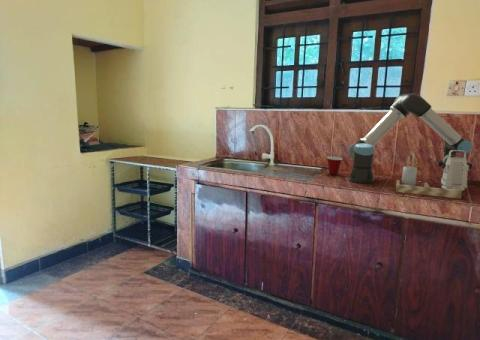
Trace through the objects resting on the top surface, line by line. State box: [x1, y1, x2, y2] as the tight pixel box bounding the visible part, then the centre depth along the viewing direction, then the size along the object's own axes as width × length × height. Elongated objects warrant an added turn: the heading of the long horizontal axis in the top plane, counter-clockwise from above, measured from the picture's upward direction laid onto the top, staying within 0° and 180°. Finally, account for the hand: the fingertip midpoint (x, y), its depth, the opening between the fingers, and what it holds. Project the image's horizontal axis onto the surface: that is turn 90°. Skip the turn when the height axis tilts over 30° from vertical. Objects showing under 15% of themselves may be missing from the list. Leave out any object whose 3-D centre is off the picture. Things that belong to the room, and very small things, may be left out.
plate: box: [441, 184, 466, 192], centre depth 176 cm, size 11×11×1 cm
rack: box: [395, 179, 463, 200], centre depth 168 cm, size 30×14×4 cm, turn 63°
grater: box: [440, 150, 468, 189], centre depth 174 cm, size 10×10×20 cm
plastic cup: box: [326, 155, 343, 175], centre depth 216 cm, size 11×11×12 cm
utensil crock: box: [400, 153, 418, 186], centre depth 171 cm, size 7×7×20 cm
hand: (457, 167), depth 170 cm, fingers closed on grater, 9 cm apart
